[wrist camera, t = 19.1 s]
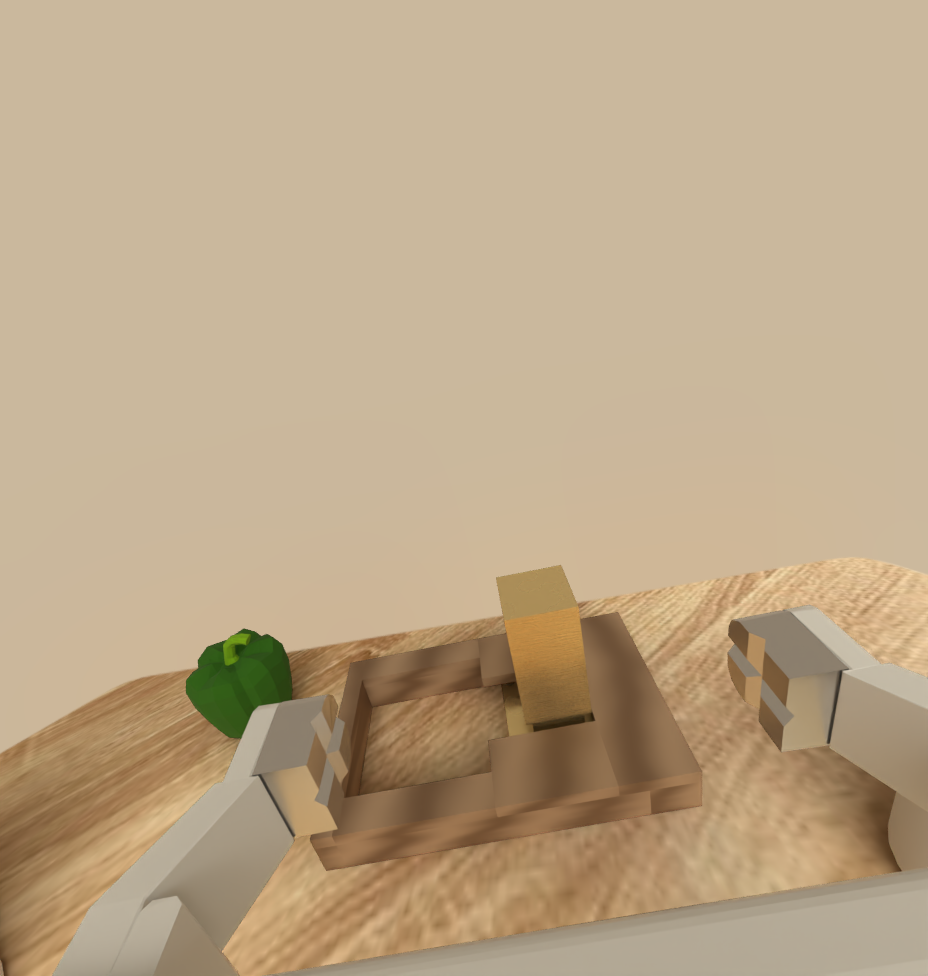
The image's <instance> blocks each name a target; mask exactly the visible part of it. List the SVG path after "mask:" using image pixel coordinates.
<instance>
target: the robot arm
mask: <svg viewBox="0 0 928 976" xmlns="http://www.w3.org/2000/svg"><path fill="white" fill-rule="evenodd" d="M728 636H729V637H730V638H731V640H732V641H733V642H734V643H735V644H734V645H733V647H732V648H731V649H730V650H729V652H728V668H729V672H730V676H731V679H732V681H733V683H734V685H735V687H736V689H737V691H738V693H739V694H740V695H741V697H742V698H743V700H744V701H745V702H747V703H748V704H750V705H752V706H754V707H756V708H758V709H759V722H760V724H761V725H762V726H763V728H764V729H765V731H766V732H767V733H768V735H769V736H770V737H771V739H772V740H773V742H774V743H775V744H776V746H777V747H778V749H779V750H780V751H781V752H786V751H793V750H800V749H807V748H814V747H821V746H828V745H830V746H829V748H830V749H832V750H833V751H835V752H836V753H838V754H839V755H841V756H843V757H844V758H846V759H847V760H849V761H850V762H852V763H853V764H855V765H856V766H858V767H859V768H861V769H863V770H864V771H866V772H867V773H869V774H870V775H872V776H873V777H875V778H876V779H878V780H879V781H881V782H882V783H884V784H886V785H887V786H889V787H890V788H892V789H893V790H895V791H896V792H898V793H899V794H901V795H902V796H904V797H906V798H907V799H909V800H910V801H912V802H913V803H915V804H916V805H918V806H919V807H921V808H922V809H924V810H925V811H927V812H928V677H925V676H922V675H920V674H917V673H915V672H912V671H910V670H907V669H905V668H902V667H899V666H897V665H894V664H892V663H886V664H881V663H880V662H878V661H877V660H876V659H875V658H874V657H873V656H872V655H870V654H869V653H868V652H867V651H866V650H865V649H864V648H862V647H861V646H860V645H859V644H858V643H857V642H856V641H854V640H853V639H852V638H851V637H850V636H849V635H848V634H846V633H845V632H844V631H843V630H842V629H841V628H840V627H838V626H837V625H836V624H835V623H834V622H833V621H832V620H830V619H829V618H828V617H827V616H826V615H825V614H824V613H822V612H821V611H820V610H819V609H818V608H816V607H814V606H811V605H806V606H801V607H795V608H790V609H785V610H783V611H775V612H770V613H765V614H760V615H755V616H750V617H744V618H739V619H734V620H732V621H731V623H730V625H729V633H728ZM337 711H338V705H337V703H336V701H335V699H334V697H333V695H322V696H316V697H309V698H303V699H297V700H290V701H284V702H281V703H275V704H268V705H262V706H258V707H257V708H256V709H255V710H254V711H253V713H252V715H251V717H250V719H249V722H248V724H247V726H246V729H245V731H244V733H243V736H242V738H241V740H240V743H239V745H238V747H237V750H236V752H235V754H234V757H233V759H232V761H231V764H230V766H229V768H228V771H227V773H226V775H225V778H224V780H223V782H220V783H215V784H214V785H213V786H212V787H211V788H210V789H209V790H208V791H207V792H206V793H205V794H204V795H203V796H202V797H201V798H200V799H199V800H198V801H197V802H196V803H195V804H194V805H193V806H192V807H191V808H190V809H189V810H188V811H187V812H186V813H185V814H184V815H183V816H182V817H181V818H180V819H179V820H178V821H177V822H176V823H175V824H174V825H173V826H172V827H171V828H170V829H169V830H168V831H167V832H166V833H165V834H164V835H163V836H162V837H161V838H160V839H159V840H158V841H157V842H156V843H155V844H154V845H153V846H152V847H150V848H149V849H148V850H147V851H146V852H145V853H144V854H143V855H142V856H141V857H140V858H139V859H138V860H137V861H136V862H135V863H134V864H133V865H132V866H131V867H130V868H129V869H128V870H127V871H126V872H125V873H124V874H123V875H122V876H121V877H120V878H119V879H118V880H117V881H116V882H115V883H114V884H113V885H112V886H111V887H110V888H109V889H108V890H107V891H106V892H105V893H104V894H103V895H102V896H101V897H100V898H99V899H98V900H97V901H96V902H95V903H94V904H93V905H92V906H91V907H90V908H89V910H88V912H87V913H86V915H85V917H84V919H83V921H82V923H81V924H80V926H79V928H78V930H77V932H76V933H75V935H74V937H73V939H72V941H71V942H70V944H69V946H68V948H67V950H66V951H65V953H64V955H63V957H62V959H61V960H60V962H59V964H58V966H57V968H56V970H55V971H54V973H53V975H52V976H239V973H238V971H237V970H236V969H235V968H234V966H233V965H232V964H231V963H230V961H229V960H228V959H227V958H226V956H225V955H224V954H223V953H222V950H223V948H224V947H225V945H226V944H227V942H228V941H229V939H230V938H231V936H232V935H233V933H234V932H235V930H236V929H237V927H238V926H239V924H240V923H241V921H242V920H243V918H244V917H245V915H246V914H247V912H248V911H249V909H250V908H251V906H252V905H253V903H254V902H255V900H256V899H257V897H258V896H259V894H260V893H261V891H262V890H263V888H264V886H265V885H266V883H267V882H268V880H269V879H270V877H271V876H272V874H273V873H274V871H275V870H276V868H277V867H278V865H279V864H280V862H281V861H282V859H283V858H284V856H285V855H286V853H287V852H288V850H289V849H290V847H291V846H292V844H293V843H294V838H297V837H302V836H307V835H312V834H317V833H321V832H326V831H331V830H336V829H338V826H339V820H340V815H341V810H342V804H343V799H344V792H343V790H342V787H341V785H340V782H341V781H342V779H343V778H344V777H345V776H346V774H347V773H348V772H349V765H350V759H351V742H350V737H349V732H348V729H347V727H346V724H345V722H344V721H342V720H340V719H339V718H337V717H336V715H337ZM0 976H4V974H3V967H2V963H1V960H0ZM264 976H928V867H925V868H919V869H913V870H907V871H901V872H894V873H888V874H882V875H876V876H870V877H864V878H858V879H852V880H846V881H840V882H833V883H827V884H821V885H815V886H809V887H803V888H796V889H790V890H784V891H778V892H772V893H766V894H760V895H753V896H747V897H741V898H735V899H729V900H723V901H716V902H710V903H704V904H698V905H692V906H686V907H679V908H673V909H667V910H661V911H655V912H649V913H643V914H636V915H630V916H624V917H618V918H612V919H606V920H600V921H594V922H588V923H581V924H575V925H569V926H563V927H557V928H551V929H545V930H539V931H533V932H527V933H521V934H514V935H508V936H502V937H496V938H490V939H484V940H478V941H472V942H466V943H460V944H453V945H447V946H441V947H435V948H429V949H423V950H417V951H411V952H405V953H398V954H392V955H386V956H380V957H374V958H368V959H362V960H356V961H350V962H343V963H337V964H331V965H325V966H319V967H313V968H307V969H301V970H295V971H288V972H282V973H276V974H270V975H264Z"/></svg>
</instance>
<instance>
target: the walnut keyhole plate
mask: <svg viewBox="0 0 928 976" xmlns="http://www.w3.org/2000/svg"><path fill="white" fill-rule="evenodd" d="M580 624H581V632H582V639H583V647H584V655H585V663H586V671H587V679H588V686H589V694H590V702H591V710H592V713H591V715H592V718H593V720H594V721H592V722H586V723H581V724H575V725H570V726H564V727H559V728H553V729H548V730H542V731H537V732H531V733H526V734H520V735H515V736H509V737H504V738H498V739H493V740H488V743H489V752H490V762H491V771H492V772H487V773H482V774H476V775H471V776H465V777H460V778H454V779H448V780H443V781H437V782H432V783H426V784H420V785H415V786H409V787H404V788H398V789H392V790H387V791H381V792H376V793H370V794H364V795H359V789H360V783H361V777H362V770H363V764H364V757H365V751H366V744H367V738H368V732H369V725H370V719H371V712H372V707H375V706H381V705H386V704H391V703H397V702H402V701H408V700H413V699H418V698H424V697H429V696H434V695H440V694H445V693H451V692H456V691H461V690H467V689H472V688H477V687H483V686H484V687H488V686H493V685H499V684H504V683H510V682H515V681H517V680H516V676H515V671H514V666H513V661H512V656H511V652H510V647H509V642H508V637H507V633H505V634H500V635H495V636H490V637H484V638H479V639H474V640H469V641H463V642H458V643H453V644H447V645H442V646H437V647H432V648H426V649H421V650H416V651H411V652H405V653H400V654H395V655H390V656H384V657H379V658H374V659H368V660H363V661H358V662H353V663H350V668H349V672H348V676H347V681H346V685H345V689H344V694H343V698H342V703H341V707H340V711H339V716H338V718H339V719H340V720H342V721H344V722H345V724H346V727H347V729H348V732H349V737H350V742H351V759H350V765H349V772H348V773H347V774H346V776H345V777H344V778H343V779H342V781H341V782H340V785H341V787H342V790H343V792H344V799H343V804H342V810H341V815H340V820H339V826H338V829H336V830H331V831H326V832H321V833H317V834H312V835H311V838H310V842H311V843H312V845H313V847H314V849H315V851H316V853H317V854H318V856H319V858H320V860H321V862H322V864H323V866H324V867H325V869H326V871H328V870H333V869H339V868H345V867H351V866H357V865H362V864H368V863H374V862H380V861H385V860H391V859H397V858H403V857H409V856H414V855H420V854H426V853H432V852H437V851H443V850H449V849H455V848H460V847H466V846H472V845H478V844H484V843H489V842H495V841H501V840H507V839H512V838H518V837H524V836H530V835H536V834H541V833H547V832H553V831H559V830H564V829H570V828H576V827H582V826H588V825H593V824H599V823H605V822H611V821H616V820H622V819H628V818H634V817H639V816H645V815H651V814H657V813H663V812H668V811H674V810H680V809H686V808H691V807H697V806H702V770H701V769H700V767H699V765H698V763H697V761H696V759H695V757H694V755H693V753H692V751H691V750H690V748H689V746H688V744H687V742H686V740H685V738H684V736H683V734H682V733H681V731H680V729H679V727H678V725H677V723H676V721H675V719H674V717H673V715H672V714H671V712H670V710H669V708H668V706H667V704H666V702H665V700H664V698H663V697H662V695H661V693H660V691H659V689H658V687H657V685H656V683H655V681H654V679H653V678H652V676H651V674H650V672H649V670H648V668H647V666H646V664H645V662H644V660H643V659H642V657H641V655H640V653H639V651H638V649H637V647H636V645H635V643H634V642H633V640H632V638H631V636H630V634H629V632H628V630H627V628H626V626H625V624H624V623H623V621H622V619H621V617H620V615H619V613H618V612H616V613H611V614H605V615H600V616H595V617H590V618H584V619H580Z"/></svg>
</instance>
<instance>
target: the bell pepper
mask: <svg viewBox="0 0 928 976" xmlns="http://www.w3.org/2000/svg"><path fill="white" fill-rule="evenodd" d="M186 694H187V695H188V697H189V699H190V700H191V702H192V703H193V705H194V706H195V708H196V709H197V710H198V711H199V712H200V713H201V714H202V715H203V716H204V717H205V718H206V719H207V720H208V721H209V722H210V723H211V724H213V725H214V726H215V727H216V728H217V729H218V730H220V731H221V732H222V733H224V734H225V735H227V736H228V737H231V738H242V736H243V733H244V731H245V729H246V726H247V724H248V722H249V719H250V717H251V715H252V713H253V711H254V710H255V709H256V708H257V707H258V706H262V705H268V704H275V703H281V702H284V701H290V700H292V679H291V671H290V665H289V659H288V657H287V654H286V652H285V650H284V647H283V645H282V644H281V643H280V642H279V641H277V640H276V639H274V638H273V637H271V636H270V635H268V634H266V635H263V636H260V635H259V634H258V633H256V632H255V631H251V630H247V629H242V630H241V631H239V632H238V633H236V634H235V635H232V636H231V637H230V638H228V640H225V641H222V642H220V643H216V644H214V645H211V646H208V647H207V648H206V649H205V651H204V652H203V654H202V655H201V657H200V658H199V659H198V669H197V670H195V671H194V672H192V674H191V675H190V676H189V678H188V679H187V680H186Z"/></svg>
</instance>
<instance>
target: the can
mask: <svg viewBox="0 0 928 976" xmlns="http://www.w3.org/2000/svg"><path fill="white" fill-rule="evenodd" d="M888 840H889V845H890V847H891V850H892V852H893V854H894V857H895V859H896V862H897V864H898V866H899V867H900V869H901V870H902V871H907V870H913V869H919V868H925V867H928V812H927V811H925V810H924V809H922V808H921V807H919V806H918V805H916V804H915V803H913V802H912V801H910V800H909V799H907V798H906V797H904V796H902V795H901V794H899V793H898V792H896V794H895V798H894V802H893V806H892V810H891V814H890V818H889V821H888Z"/></svg>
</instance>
